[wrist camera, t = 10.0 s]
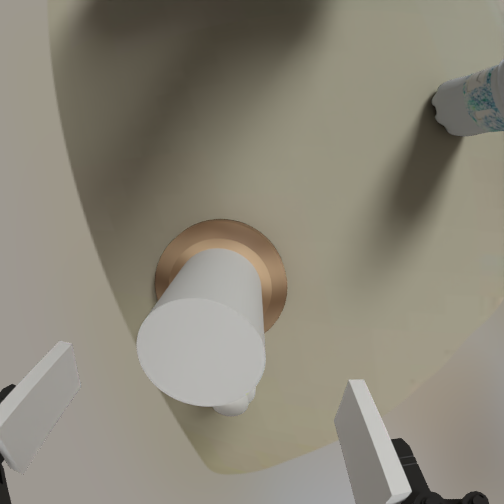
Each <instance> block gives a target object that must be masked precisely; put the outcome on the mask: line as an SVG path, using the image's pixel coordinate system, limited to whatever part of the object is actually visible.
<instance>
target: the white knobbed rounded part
mask: <svg viewBox="0 0 504 504" xmlns="http://www.w3.org/2000/svg"><path fill="white" fill-rule="evenodd" d="M254 396H255V388H254V389H253V390H252V391H251V392H250V393H248V394H247V395H246V396H244V397H243V398H241V399H239V400H237V401H235V402H232V403H229V404H225V405H221V406H212V407H213V409H214V410H215V411H216V412H218V413H220V414H222V415H225V416H237V415H240V414H242V413H243V412H245V411H246V409H247V407H248V404H249V403H250V402H251V401H252V400H253V398H254Z"/></svg>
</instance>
